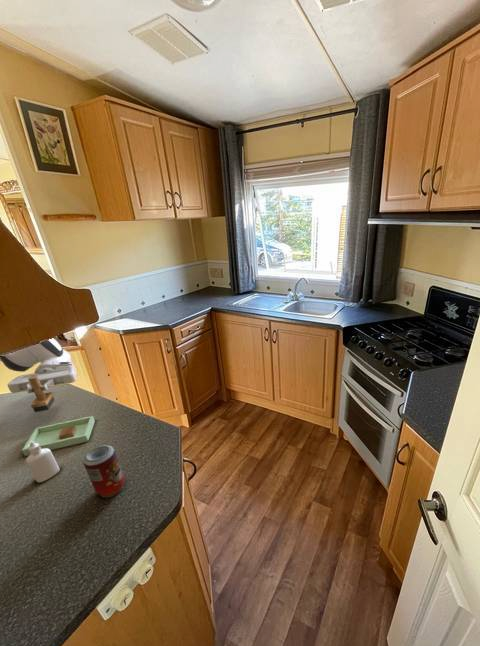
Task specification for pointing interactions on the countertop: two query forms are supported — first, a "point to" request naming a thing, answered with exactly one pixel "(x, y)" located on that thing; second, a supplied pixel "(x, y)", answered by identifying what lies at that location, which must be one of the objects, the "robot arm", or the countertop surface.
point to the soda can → (104, 470)
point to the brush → (40, 395)
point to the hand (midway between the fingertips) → (36, 389)
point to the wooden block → (67, 432)
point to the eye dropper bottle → (41, 462)
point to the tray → (50, 433)
